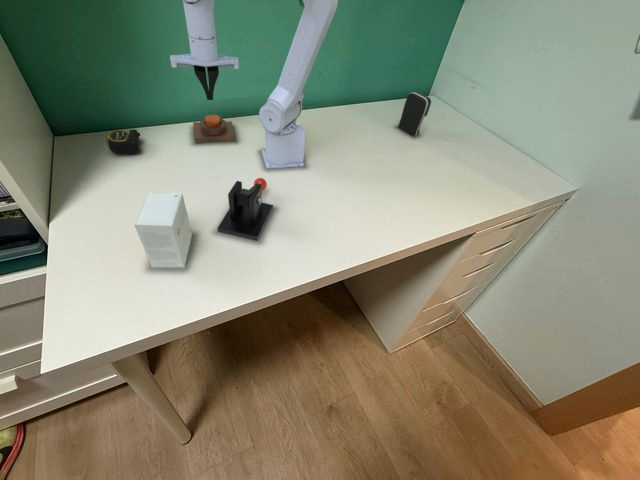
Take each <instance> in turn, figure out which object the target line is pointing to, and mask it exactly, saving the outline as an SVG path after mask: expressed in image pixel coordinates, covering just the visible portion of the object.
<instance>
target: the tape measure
mask: <svg viewBox="0 0 640 480" xmlns="http://www.w3.org/2000/svg"><path fill="white" fill-rule="evenodd" d="M140 137H141V132H138V130H137V129H129V130H128V129H116V130H112V131H110V132H109V133H108V134H107V135H106V138H105V143H106V146H107V147H108V149H109V150H110V152H112V153H114V154H116V155H131V154H135V153H139V152H140V149H141V148H140Z"/></svg>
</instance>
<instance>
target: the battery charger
mask: <svg viewBox="0 0 640 480" xmlns="http://www.w3.org/2000/svg"><path fill="white" fill-rule="evenodd" d="M405 99H406V100H405V102H404V105H403V109H402V114H401V117H400V120H399V123H398V126H397V128H399V129H400V130H402V131H403V132H404V133H406V134H409V135H410V136H412V137H416V136H418V135H419V133H420V128H421V126H422V124H423V121H424V119H425V117H427V116H428V113H429V110H430V109H431V108H430V107H431V105H432V100H431V97H429V96H427V95H425V94H423V93H422V92H419V91H413V92H410V93H409V94H407V97H406V98H405Z"/></svg>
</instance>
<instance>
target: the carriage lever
mask: <svg viewBox="0 0 640 480" xmlns="http://www.w3.org/2000/svg"><path fill="white" fill-rule="evenodd" d="M257 185H258V186H262V192H263V191H265V190H266V189H267V186H268V183H267V180H266V179H265V178H263V177H257V178H255V180H254V181H253V185H252V186H251V187H250V188H249V189H248V188H242V190H241V191H240V192H238V199H237V204H238V205H242V206H246V207H248V206H249V198H250V196H251V195H252V193H253V191H254V189H255V188H256V186H257Z"/></svg>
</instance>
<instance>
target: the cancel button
mask: <svg viewBox="0 0 640 480" xmlns="http://www.w3.org/2000/svg"><path fill="white" fill-rule="evenodd" d="M204 118H205V121H206V125H207V126H210V127H217V126H220V118H221V117H220V116H219V115H217V114H208V115H205V117H204Z"/></svg>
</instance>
